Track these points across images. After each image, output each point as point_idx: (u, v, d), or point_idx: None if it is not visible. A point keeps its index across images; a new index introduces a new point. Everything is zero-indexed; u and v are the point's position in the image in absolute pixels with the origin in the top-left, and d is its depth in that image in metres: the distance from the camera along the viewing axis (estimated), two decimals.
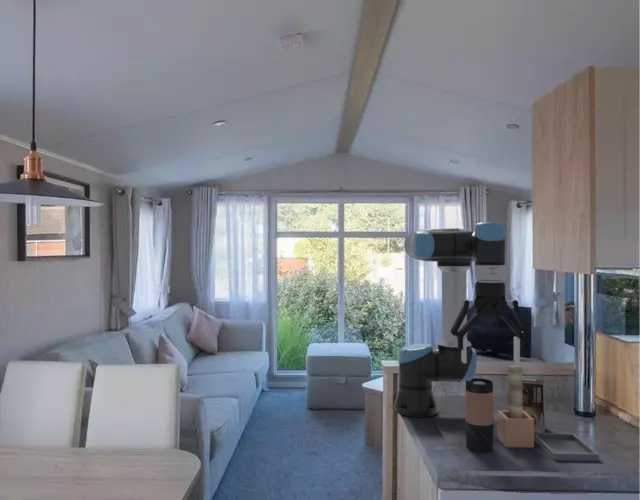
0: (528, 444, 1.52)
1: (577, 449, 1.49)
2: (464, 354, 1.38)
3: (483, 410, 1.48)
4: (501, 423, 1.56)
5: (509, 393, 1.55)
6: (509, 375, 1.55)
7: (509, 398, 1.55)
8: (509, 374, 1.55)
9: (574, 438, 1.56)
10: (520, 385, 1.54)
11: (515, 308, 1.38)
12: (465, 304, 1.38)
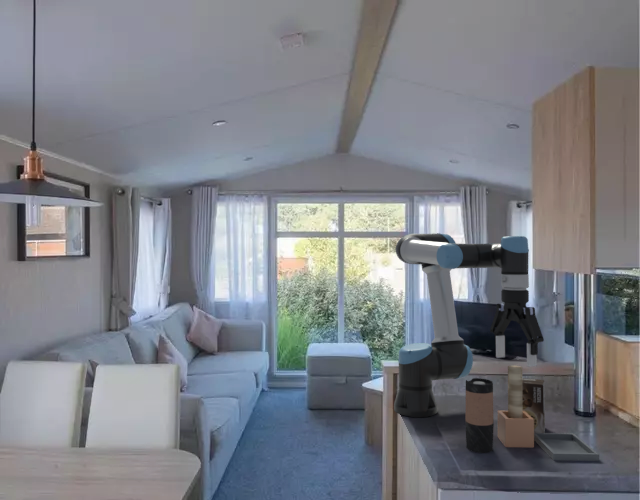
0: (528, 444, 1.52)
1: (577, 449, 1.49)
2: (496, 349, 1.62)
3: (483, 410, 1.48)
4: (501, 423, 1.56)
5: (509, 393, 1.55)
6: (509, 375, 1.55)
7: (509, 398, 1.55)
8: (509, 374, 1.55)
9: (574, 438, 1.56)
10: (520, 385, 1.54)
11: (526, 315, 1.49)
12: (497, 307, 1.61)
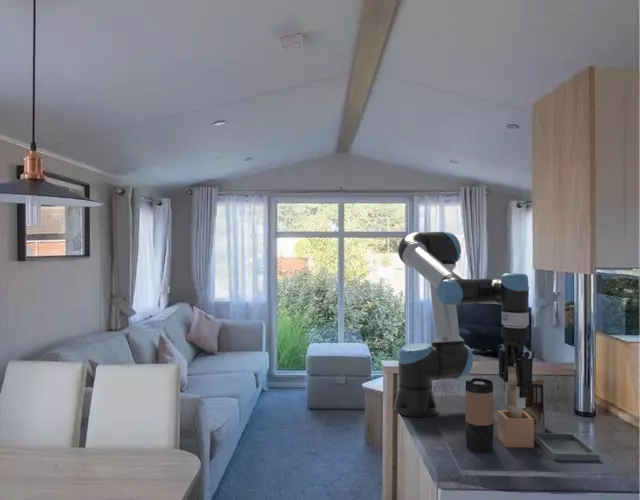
0: (528, 444, 1.52)
1: (577, 449, 1.49)
2: (505, 396, 1.58)
3: (483, 410, 1.48)
4: (501, 423, 1.56)
5: (509, 393, 1.55)
6: (509, 375, 1.55)
7: (509, 398, 1.55)
8: (509, 374, 1.55)
9: (574, 438, 1.56)
10: None
11: (523, 358, 1.50)
12: (498, 348, 1.61)
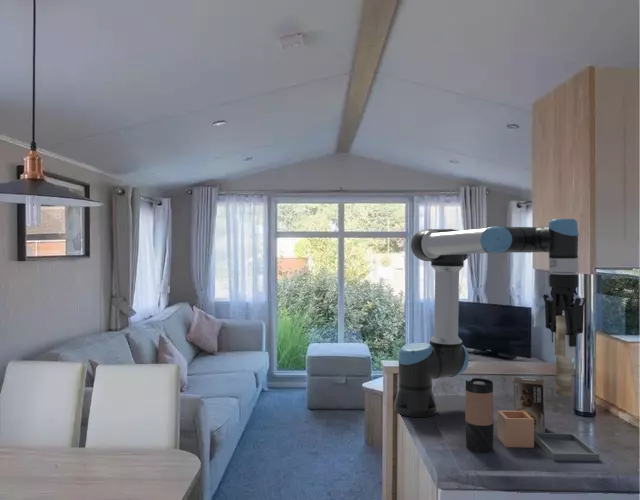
0: (528, 444, 1.52)
1: (577, 449, 1.49)
2: (553, 347, 1.52)
3: (483, 410, 1.48)
4: (501, 423, 1.56)
5: (558, 343, 1.49)
6: (558, 324, 1.49)
7: (558, 348, 1.50)
8: (558, 323, 1.49)
9: (574, 438, 1.56)
10: None
11: (574, 304, 1.45)
12: (544, 298, 1.55)
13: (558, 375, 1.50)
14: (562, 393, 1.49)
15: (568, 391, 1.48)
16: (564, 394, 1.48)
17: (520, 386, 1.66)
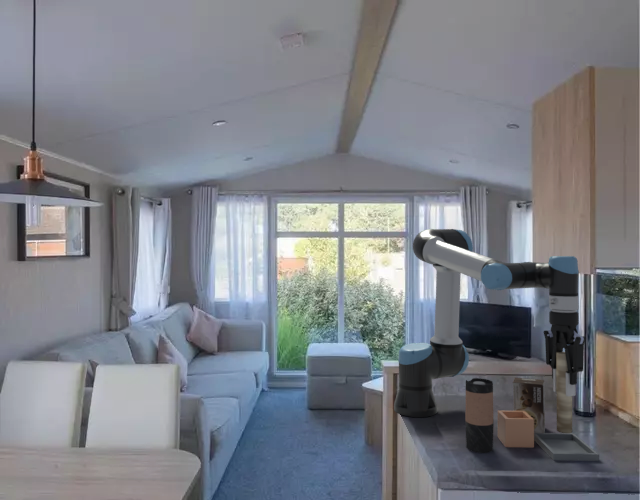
0: (528, 444, 1.52)
1: (577, 449, 1.49)
2: (554, 383, 1.52)
3: (483, 410, 1.48)
4: (501, 423, 1.56)
5: (558, 380, 1.49)
6: (558, 361, 1.49)
7: (558, 385, 1.49)
8: (558, 360, 1.49)
9: (574, 438, 1.56)
10: None
11: (574, 343, 1.45)
12: (544, 334, 1.55)
13: (558, 412, 1.50)
14: (563, 431, 1.48)
15: (569, 428, 1.48)
16: (565, 432, 1.48)
17: (520, 386, 1.66)
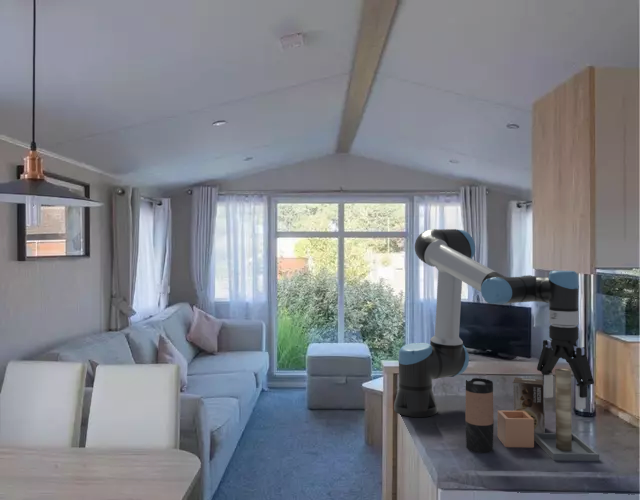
0: (528, 444, 1.52)
1: (577, 449, 1.49)
2: (544, 389, 1.56)
3: (483, 410, 1.48)
4: (501, 423, 1.56)
5: (557, 397, 1.50)
6: (557, 379, 1.50)
7: (557, 403, 1.50)
8: (557, 378, 1.50)
9: (574, 438, 1.56)
10: (569, 389, 1.49)
11: (577, 355, 1.44)
12: (543, 343, 1.56)
13: (557, 429, 1.50)
14: (562, 448, 1.49)
15: (568, 446, 1.48)
16: (564, 449, 1.48)
17: (520, 386, 1.66)
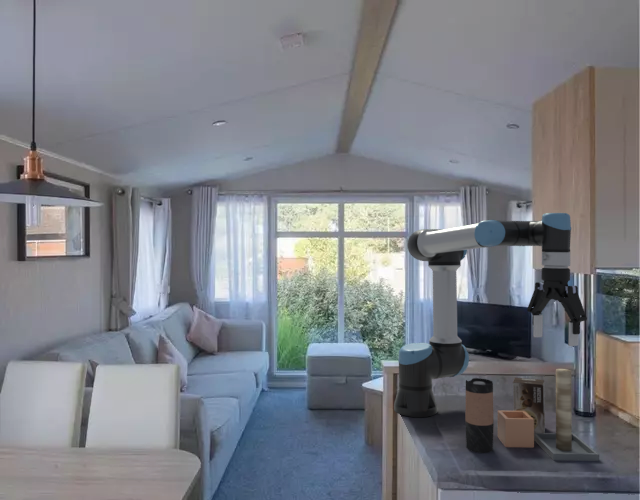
0: (528, 444, 1.52)
1: (577, 449, 1.49)
2: (534, 329, 1.58)
3: (483, 410, 1.48)
4: (501, 423, 1.56)
5: (557, 397, 1.50)
6: (557, 379, 1.50)
7: (557, 403, 1.50)
8: (557, 378, 1.50)
9: (574, 438, 1.56)
10: (569, 389, 1.49)
11: (568, 293, 1.46)
12: (535, 286, 1.58)
13: (557, 429, 1.50)
14: (562, 448, 1.49)
15: (568, 446, 1.48)
16: (564, 449, 1.48)
17: (520, 386, 1.66)
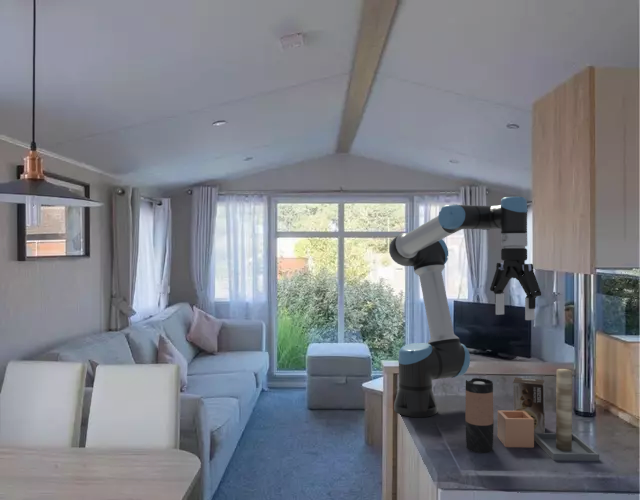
0: (528, 444, 1.52)
1: (577, 449, 1.49)
2: (496, 307, 1.69)
3: (483, 410, 1.48)
4: (501, 423, 1.56)
5: (558, 397, 1.50)
6: (558, 379, 1.50)
7: (558, 403, 1.50)
8: (558, 378, 1.49)
9: (574, 438, 1.56)
10: (570, 389, 1.48)
11: (524, 271, 1.56)
12: (496, 266, 1.68)
13: (558, 429, 1.50)
14: (562, 448, 1.49)
15: (568, 446, 1.48)
16: (564, 449, 1.48)
17: (520, 386, 1.66)
